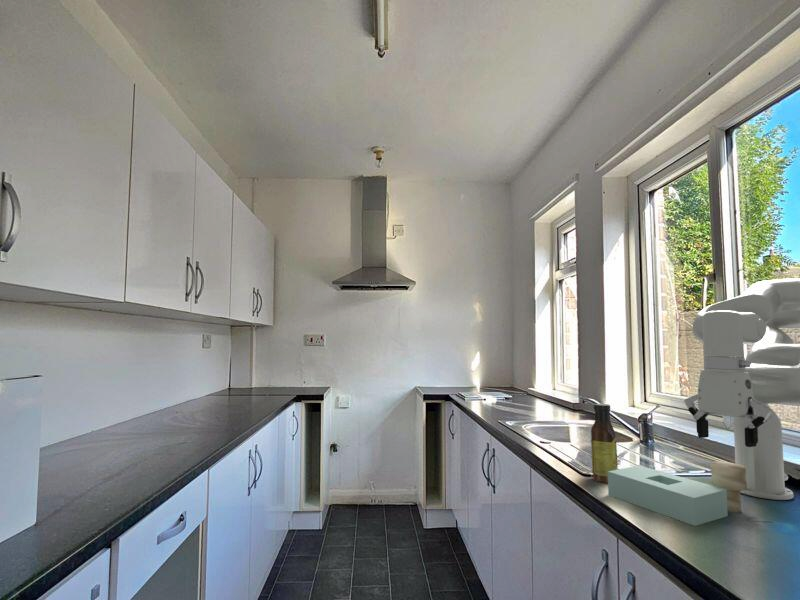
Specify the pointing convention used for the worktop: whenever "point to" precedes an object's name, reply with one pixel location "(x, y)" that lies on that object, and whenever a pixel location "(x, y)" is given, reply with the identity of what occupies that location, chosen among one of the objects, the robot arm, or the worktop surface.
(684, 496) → the block
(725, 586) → the worktop surface
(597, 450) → the sauce bottle
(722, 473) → the pin
